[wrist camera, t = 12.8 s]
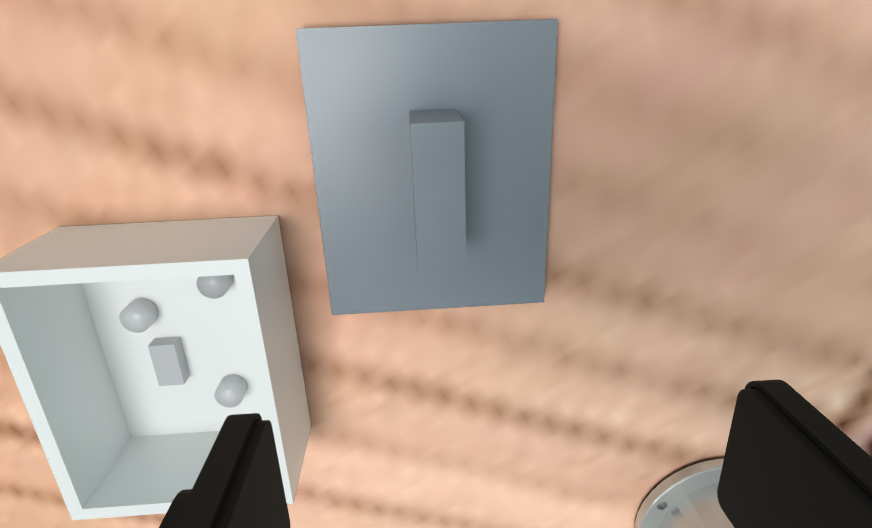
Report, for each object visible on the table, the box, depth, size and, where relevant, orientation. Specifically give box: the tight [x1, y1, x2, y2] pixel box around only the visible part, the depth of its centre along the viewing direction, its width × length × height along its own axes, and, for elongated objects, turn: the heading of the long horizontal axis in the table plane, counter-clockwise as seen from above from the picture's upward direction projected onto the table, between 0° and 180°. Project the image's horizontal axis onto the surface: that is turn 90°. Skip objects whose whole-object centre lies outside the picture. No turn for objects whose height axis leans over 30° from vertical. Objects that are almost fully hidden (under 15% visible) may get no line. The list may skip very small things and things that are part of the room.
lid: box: [296, 19, 558, 315], centre depth 29 cm, size 17×14×7 cm
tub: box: [0, 215, 311, 520], centre depth 32 cm, size 16×13×7 cm
